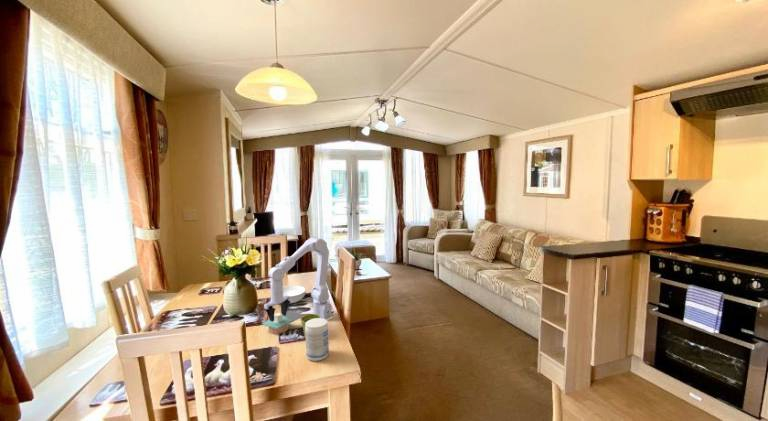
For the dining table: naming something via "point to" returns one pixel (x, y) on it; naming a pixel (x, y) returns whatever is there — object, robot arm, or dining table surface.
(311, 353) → the supplement tub
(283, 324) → the cover sheet
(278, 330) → the bowl
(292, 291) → the serving bowl
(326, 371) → the dining table surface
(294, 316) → the mat
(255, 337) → the dining table surface
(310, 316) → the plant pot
